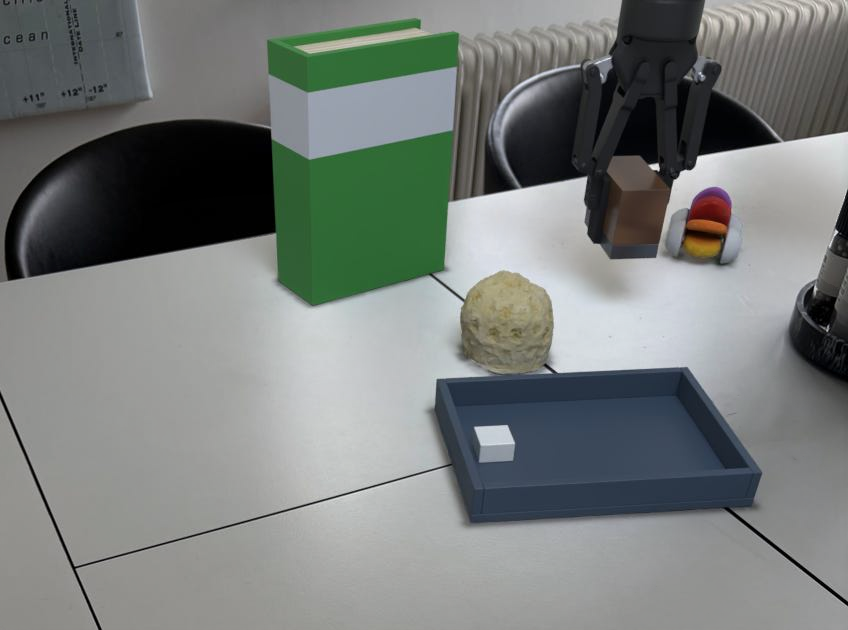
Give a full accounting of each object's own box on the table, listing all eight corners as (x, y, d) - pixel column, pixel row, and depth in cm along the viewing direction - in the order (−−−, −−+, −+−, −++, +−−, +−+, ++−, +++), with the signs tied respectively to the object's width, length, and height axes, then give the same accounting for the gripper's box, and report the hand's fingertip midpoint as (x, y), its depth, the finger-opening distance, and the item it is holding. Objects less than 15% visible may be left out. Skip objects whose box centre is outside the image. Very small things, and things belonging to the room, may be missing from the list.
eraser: (627, 221, 115) (639, 155, 111) (656, 258, 108) (670, 189, 103) (583, 222, 115) (594, 156, 110) (609, 260, 108) (622, 190, 103)
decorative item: (547, 396, 106) (583, 300, 104) (516, 374, 97) (555, 269, 95) (465, 372, 110) (499, 278, 108) (429, 348, 101) (465, 246, 99)
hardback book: (406, 247, 124) (415, 17, 107) (444, 269, 119) (459, 33, 103) (278, 281, 116) (266, 39, 100) (312, 305, 112) (306, 57, 96)
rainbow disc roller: (660, 263, 121) (673, 199, 117) (667, 232, 128) (680, 171, 123) (734, 273, 120) (751, 209, 115) (738, 241, 127) (754, 179, 122)
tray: (679, 398, 98) (687, 366, 96) (752, 506, 86) (763, 472, 83) (434, 410, 96) (436, 378, 94) (470, 523, 83) (474, 489, 81)
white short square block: (505, 442, 91) (507, 424, 90) (513, 461, 89) (515, 443, 87) (471, 444, 90) (473, 426, 89) (478, 463, 88) (480, 445, 87)
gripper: (744, -24, 99) (688, 222, 115) (559, -23, 97) (529, 226, 113) (776, -6, 94) (713, 249, 109) (581, -5, 92) (545, 255, 108)
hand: (619, 237), depth 111 cm, fingers closed on eraser, 5 cm apart
